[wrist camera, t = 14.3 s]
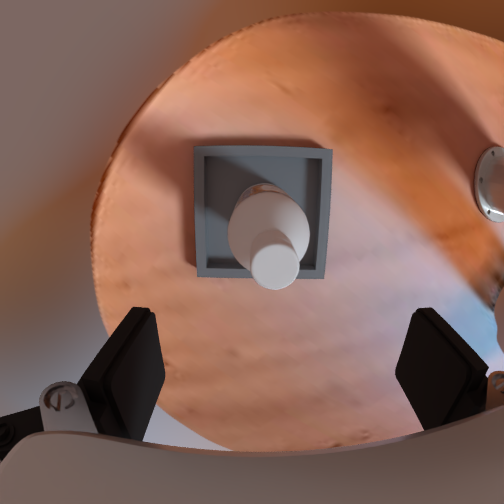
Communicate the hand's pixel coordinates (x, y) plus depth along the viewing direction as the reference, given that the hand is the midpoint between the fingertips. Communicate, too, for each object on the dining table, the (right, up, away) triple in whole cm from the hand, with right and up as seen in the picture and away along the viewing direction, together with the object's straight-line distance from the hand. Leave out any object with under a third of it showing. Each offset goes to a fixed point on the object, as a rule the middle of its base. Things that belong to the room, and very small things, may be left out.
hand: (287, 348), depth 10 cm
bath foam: (0, +8, +27) cm, 28 cm away
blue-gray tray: (0, +8, +27) cm, 28 cm away
